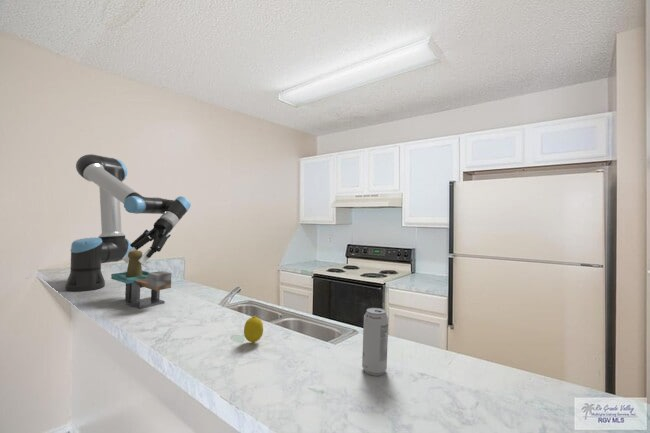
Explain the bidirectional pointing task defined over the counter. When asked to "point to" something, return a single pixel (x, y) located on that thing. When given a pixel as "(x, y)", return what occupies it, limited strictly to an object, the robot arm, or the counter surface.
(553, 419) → the counter surface
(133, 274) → the olive chess piece
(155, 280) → the balance beam
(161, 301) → the beam stand
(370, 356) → the energy drink can
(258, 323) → the lemon
